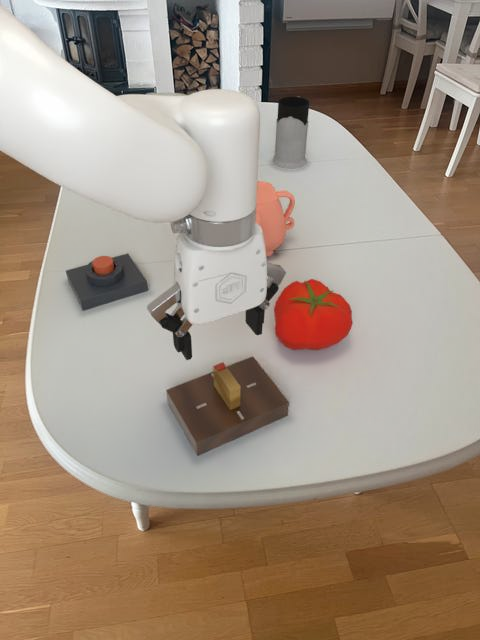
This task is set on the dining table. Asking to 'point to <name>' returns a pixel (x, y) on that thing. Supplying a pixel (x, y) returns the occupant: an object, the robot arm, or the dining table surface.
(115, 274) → the button box
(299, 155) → the glass holder
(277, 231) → the teapot
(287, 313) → the tomato
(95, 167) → the robot arm
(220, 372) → the lock knob
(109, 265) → the round orange push button
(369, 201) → the dining table surface
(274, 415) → the plate
